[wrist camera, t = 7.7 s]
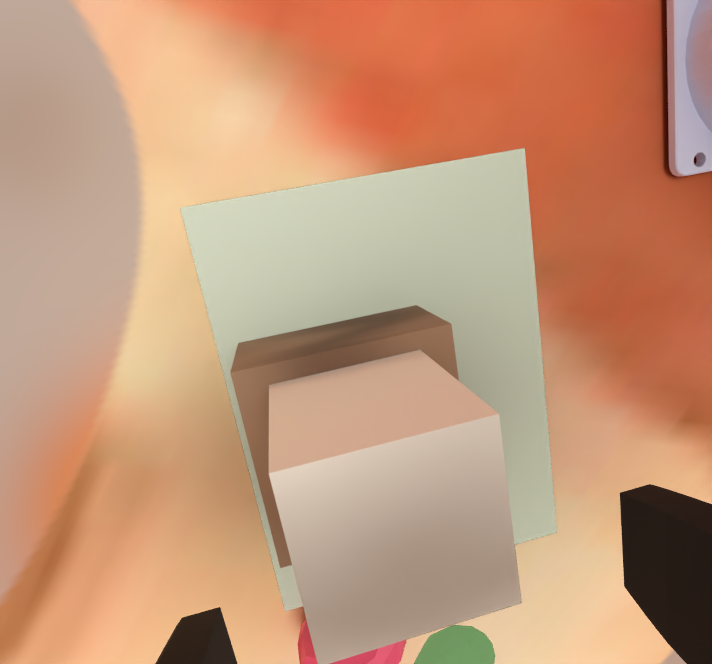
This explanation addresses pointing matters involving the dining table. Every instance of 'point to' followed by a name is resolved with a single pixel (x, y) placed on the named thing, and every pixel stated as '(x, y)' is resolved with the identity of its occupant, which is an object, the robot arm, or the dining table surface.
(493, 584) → the peach block
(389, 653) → the toy pieces
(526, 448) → the board
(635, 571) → the robot arm
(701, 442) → the dining table surface
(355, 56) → the dining table surface
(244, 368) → the walnut base
